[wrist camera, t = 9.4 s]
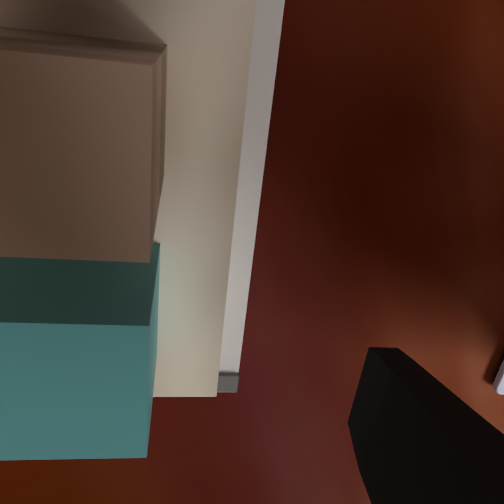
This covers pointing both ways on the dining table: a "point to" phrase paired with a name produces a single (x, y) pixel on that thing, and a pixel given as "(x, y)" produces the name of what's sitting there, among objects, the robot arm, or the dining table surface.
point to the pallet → (191, 166)
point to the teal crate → (77, 357)
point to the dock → (249, 183)
